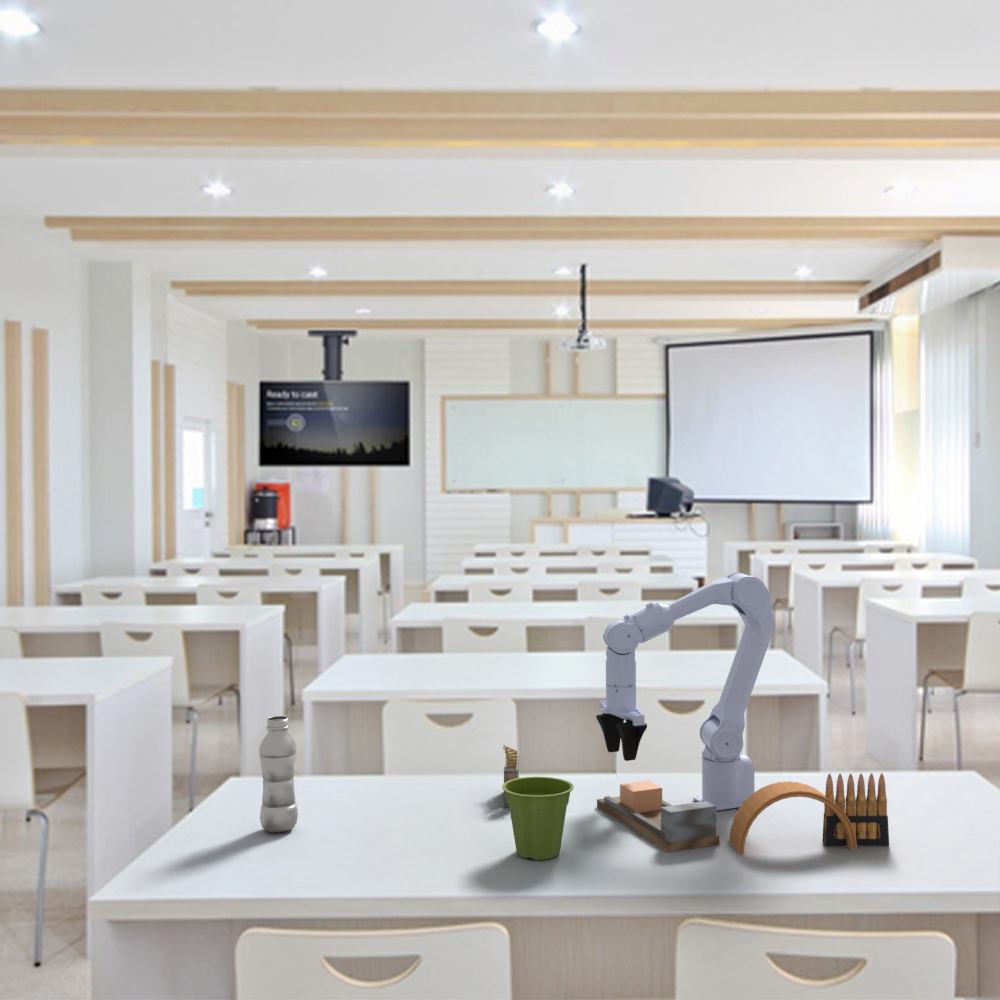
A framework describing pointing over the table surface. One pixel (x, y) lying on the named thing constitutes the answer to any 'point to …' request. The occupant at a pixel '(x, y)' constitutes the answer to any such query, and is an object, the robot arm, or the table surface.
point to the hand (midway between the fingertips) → (621, 755)
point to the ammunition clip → (857, 812)
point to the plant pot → (537, 814)
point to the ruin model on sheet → (510, 768)
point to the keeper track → (652, 835)
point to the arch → (772, 795)
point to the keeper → (641, 796)
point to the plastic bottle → (278, 777)
